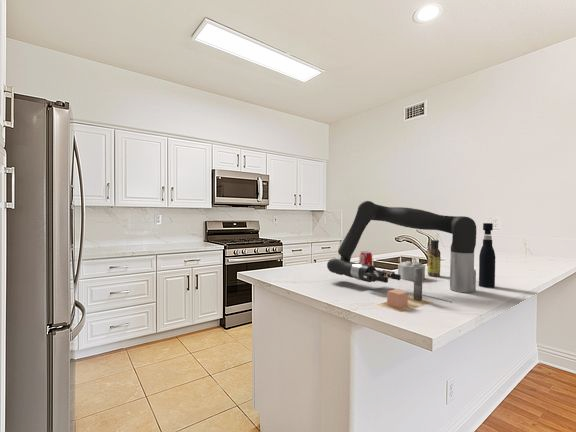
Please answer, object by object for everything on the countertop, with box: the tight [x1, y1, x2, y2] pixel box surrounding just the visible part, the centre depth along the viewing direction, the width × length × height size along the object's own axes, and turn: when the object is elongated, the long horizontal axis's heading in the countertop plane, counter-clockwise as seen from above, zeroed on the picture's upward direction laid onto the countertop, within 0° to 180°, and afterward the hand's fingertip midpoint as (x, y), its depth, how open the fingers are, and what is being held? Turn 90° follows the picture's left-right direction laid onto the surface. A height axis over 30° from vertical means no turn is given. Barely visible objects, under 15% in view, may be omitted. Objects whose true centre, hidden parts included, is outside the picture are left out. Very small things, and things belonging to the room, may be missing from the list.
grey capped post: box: [377, 268, 433, 313], centre depth 112 cm, size 20×10×13 cm, turn 126°
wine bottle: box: [478, 222, 496, 289], centre depth 145 cm, size 6×6×30 cm
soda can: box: [359, 250, 373, 266], centre depth 174 cm, size 7×7×12 cm
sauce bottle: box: [427, 239, 442, 278], centre depth 167 cm, size 6×6×20 cm
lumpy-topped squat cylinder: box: [397, 260, 426, 282], centre depth 161 cm, size 10×13×9 cm
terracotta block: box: [386, 288, 409, 309], centre depth 109 cm, size 5×5×5 cm
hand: (393, 278), depth 125 cm, fingers open, 8 cm apart
